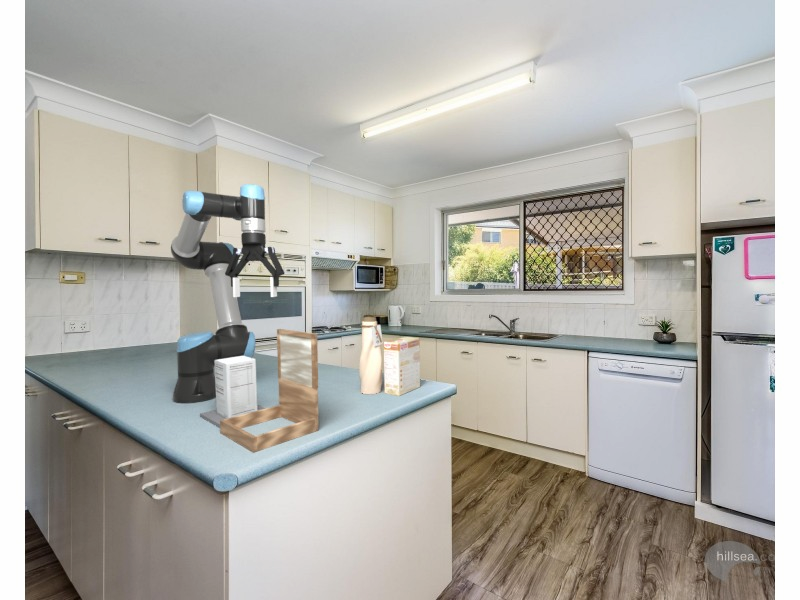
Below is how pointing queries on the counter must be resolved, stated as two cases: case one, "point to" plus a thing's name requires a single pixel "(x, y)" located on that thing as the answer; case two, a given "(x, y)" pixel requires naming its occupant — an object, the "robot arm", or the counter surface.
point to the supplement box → (235, 386)
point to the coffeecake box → (401, 365)
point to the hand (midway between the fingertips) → (255, 297)
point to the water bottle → (371, 357)
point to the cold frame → (285, 395)
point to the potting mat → (217, 416)
